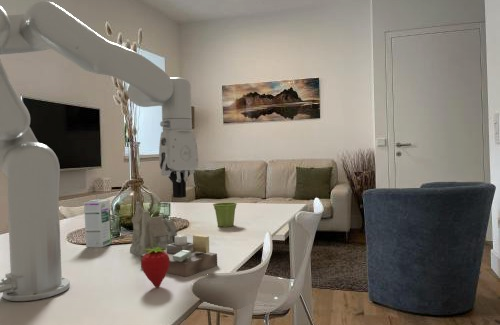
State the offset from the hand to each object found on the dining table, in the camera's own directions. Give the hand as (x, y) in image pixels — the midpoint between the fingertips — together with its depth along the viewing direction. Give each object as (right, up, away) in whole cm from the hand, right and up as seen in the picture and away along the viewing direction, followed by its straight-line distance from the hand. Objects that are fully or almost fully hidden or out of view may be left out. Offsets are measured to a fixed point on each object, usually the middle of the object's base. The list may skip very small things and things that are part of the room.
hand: (179, 197), depth 106 cm
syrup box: (-30, -18, +24) cm, 42 cm away
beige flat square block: (+6, -14, -3) cm, 15 cm away
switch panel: (0, -17, -3) cm, 17 cm away
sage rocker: (+2, -14, -9) cm, 17 cm away
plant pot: (+9, -16, +52) cm, 55 cm away
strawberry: (-2, -18, -19) cm, 26 cm away
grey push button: (0, -13, 0) cm, 13 cm away
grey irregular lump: (-9, -17, +16) cm, 26 cm away
